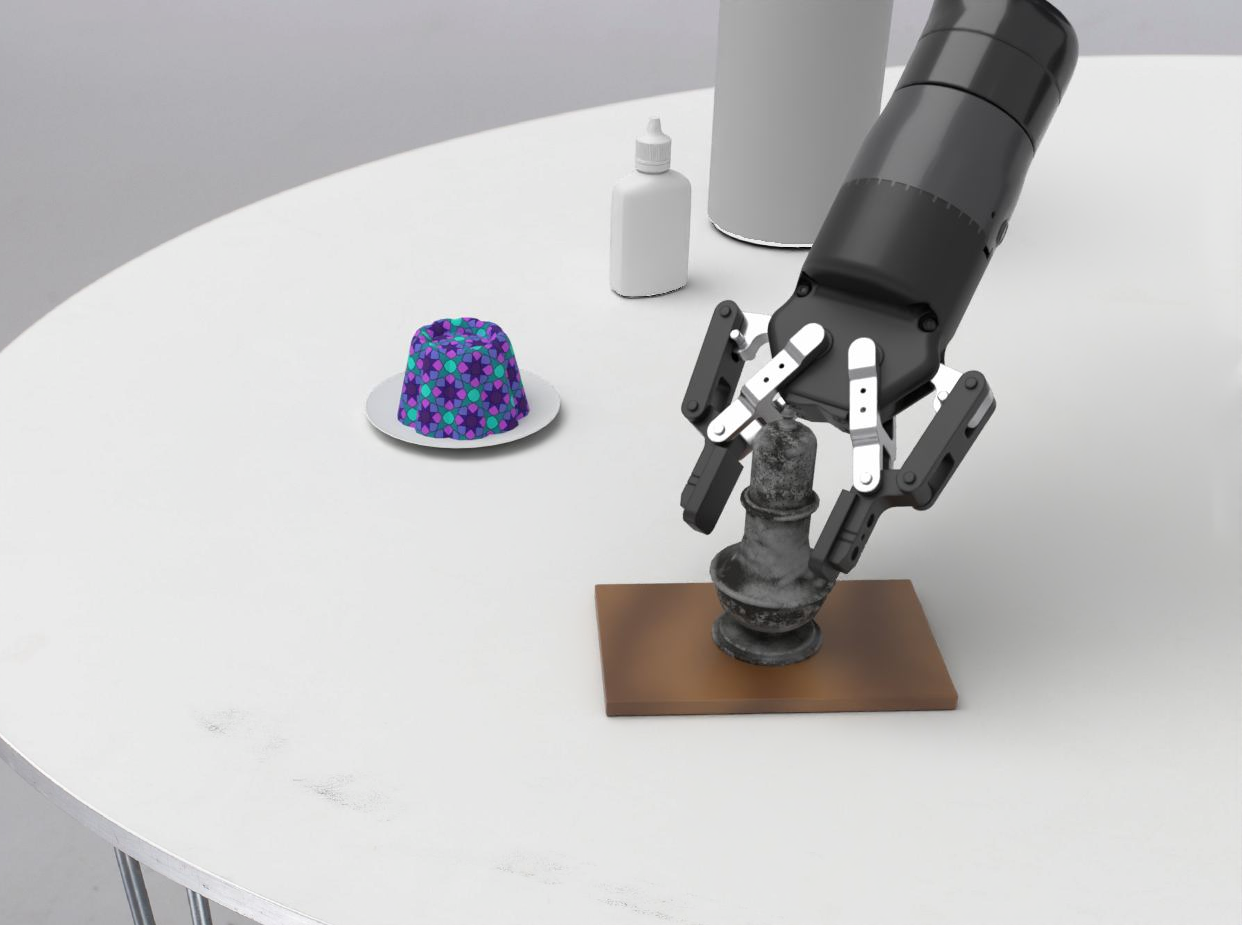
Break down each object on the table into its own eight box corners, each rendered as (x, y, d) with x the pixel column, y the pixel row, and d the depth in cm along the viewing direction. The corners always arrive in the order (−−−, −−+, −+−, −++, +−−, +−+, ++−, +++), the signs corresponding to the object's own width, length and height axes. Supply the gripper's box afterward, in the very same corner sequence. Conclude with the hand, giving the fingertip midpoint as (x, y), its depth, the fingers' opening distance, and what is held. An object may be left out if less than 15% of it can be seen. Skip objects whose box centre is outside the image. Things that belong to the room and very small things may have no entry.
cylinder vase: (690, 241, 118) (709, -122, 104) (726, 191, 128) (748, -148, 113) (851, 259, 115) (895, -112, 100) (876, 206, 125) (920, -140, 110)
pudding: (345, 388, 97) (338, 309, 94) (524, 361, 101) (523, 284, 98) (392, 473, 88) (387, 389, 85) (588, 441, 91) (589, 359, 88)
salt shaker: (848, 624, 74) (879, 396, 67) (795, 684, 70) (821, 448, 63) (740, 588, 77) (759, 365, 70) (682, 644, 73) (696, 414, 66)
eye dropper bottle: (610, 275, 113) (614, 107, 106) (686, 277, 112) (695, 108, 105) (607, 298, 109) (611, 126, 102) (686, 300, 109) (696, 127, 102)
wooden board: (908, 591, 78) (910, 578, 78) (956, 710, 70) (958, 695, 70) (594, 597, 78) (594, 583, 77) (606, 716, 70) (606, 702, 69)
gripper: (755, 143, 70) (593, 473, 69) (1055, 209, 63) (877, 578, 62) (804, 226, 76) (656, 529, 76) (1081, 295, 69) (920, 630, 69)
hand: (757, 549), depth 69 cm, fingers open, 6 cm apart
